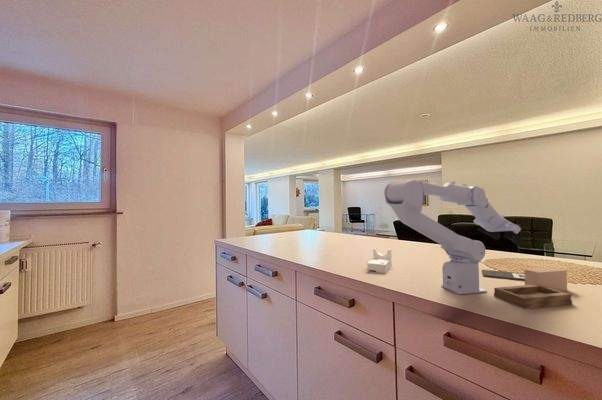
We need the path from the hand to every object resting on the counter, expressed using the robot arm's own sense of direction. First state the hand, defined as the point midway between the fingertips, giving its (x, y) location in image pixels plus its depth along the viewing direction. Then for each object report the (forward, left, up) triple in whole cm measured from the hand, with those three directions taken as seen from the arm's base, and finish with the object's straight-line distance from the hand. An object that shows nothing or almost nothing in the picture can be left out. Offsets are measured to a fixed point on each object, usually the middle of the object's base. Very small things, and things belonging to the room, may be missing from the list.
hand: (509, 240), depth 86 cm
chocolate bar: (+6, +5, -14) cm, 17 cm away
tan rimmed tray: (-10, -15, -14) cm, 22 cm away
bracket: (-33, +27, -14) cm, 45 cm away
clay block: (+3, -8, -14) cm, 16 cm away
